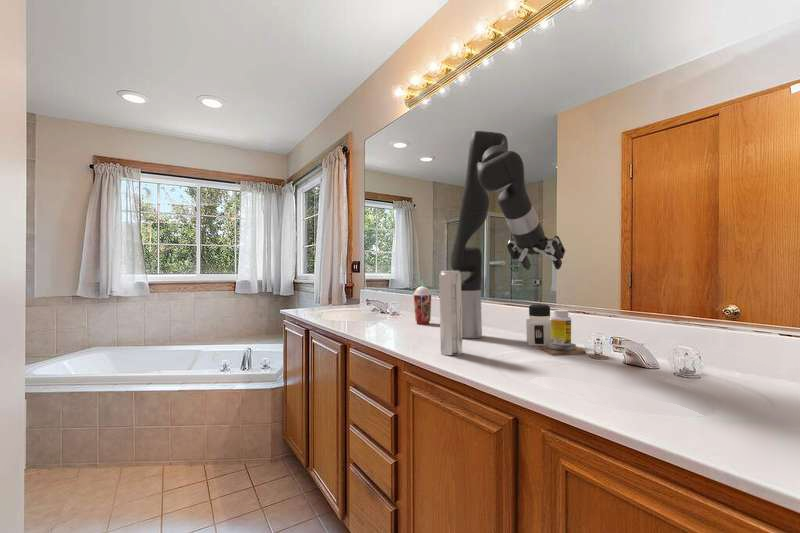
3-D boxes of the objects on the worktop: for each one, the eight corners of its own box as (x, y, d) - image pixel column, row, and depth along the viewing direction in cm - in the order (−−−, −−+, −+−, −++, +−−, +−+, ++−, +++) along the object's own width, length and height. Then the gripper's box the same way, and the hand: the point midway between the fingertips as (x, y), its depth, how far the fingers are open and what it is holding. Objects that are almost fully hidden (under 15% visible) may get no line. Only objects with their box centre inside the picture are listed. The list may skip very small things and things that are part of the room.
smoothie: (432, 324, 176) (431, 280, 176) (414, 325, 176) (413, 280, 176) (431, 322, 184) (430, 279, 184) (413, 322, 185) (412, 280, 185)
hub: (551, 355, 112) (551, 348, 112) (538, 348, 122) (538, 341, 122) (586, 354, 113) (585, 347, 113) (569, 347, 123) (569, 340, 123)
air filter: (464, 351, 119) (462, 270, 119) (460, 356, 113) (458, 270, 113) (443, 350, 122) (441, 270, 122) (438, 355, 115) (436, 270, 115)
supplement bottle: (568, 347, 113) (568, 311, 113) (548, 344, 117) (548, 310, 117) (573, 344, 118) (573, 310, 118) (554, 341, 121) (554, 308, 121)
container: (554, 346, 124) (553, 305, 124) (529, 346, 126) (528, 305, 126) (550, 342, 132) (549, 303, 132) (526, 341, 133) (525, 303, 133)
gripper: (555, 211, 98) (572, 257, 106) (503, 217, 107) (523, 258, 116) (547, 231, 94) (565, 277, 102) (494, 235, 104) (515, 277, 112)
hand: (543, 267), depth 109 cm, fingers open, 8 cm apart
